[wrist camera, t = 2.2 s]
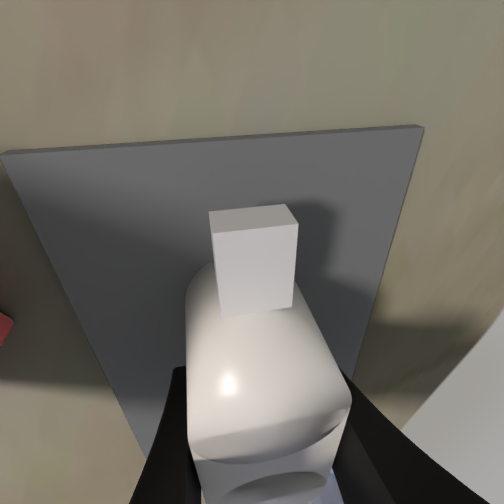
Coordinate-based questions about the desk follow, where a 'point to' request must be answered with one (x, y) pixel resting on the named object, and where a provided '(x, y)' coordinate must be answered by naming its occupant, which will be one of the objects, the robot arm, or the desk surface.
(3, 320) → the ink cartridge box
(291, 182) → the desk mat
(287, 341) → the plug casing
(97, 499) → the desk surface
